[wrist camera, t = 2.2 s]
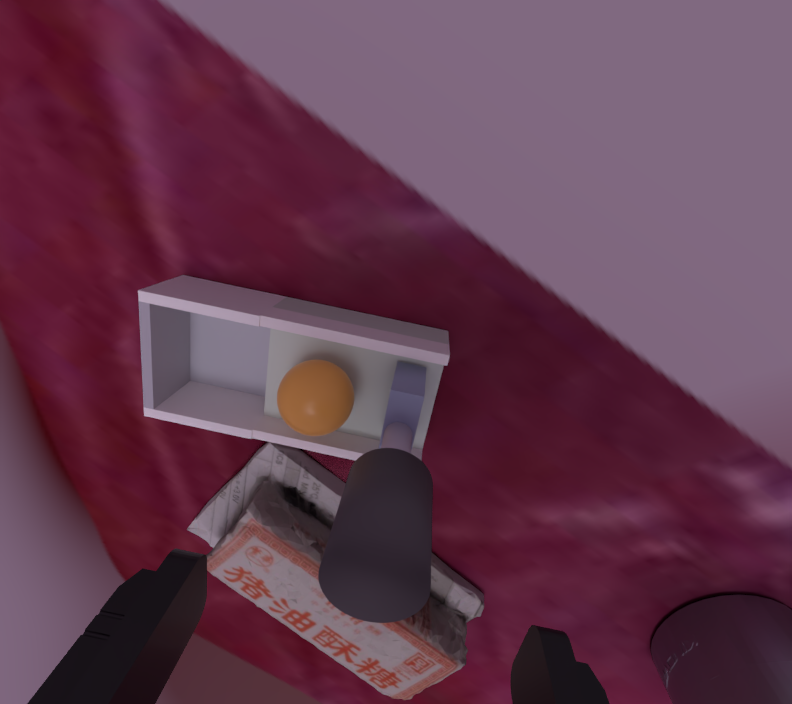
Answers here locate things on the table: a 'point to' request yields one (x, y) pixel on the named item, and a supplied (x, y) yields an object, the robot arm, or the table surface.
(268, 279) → the table surface
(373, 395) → the tray
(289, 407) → the ball
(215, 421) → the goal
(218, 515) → the packaged product
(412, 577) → the striker
